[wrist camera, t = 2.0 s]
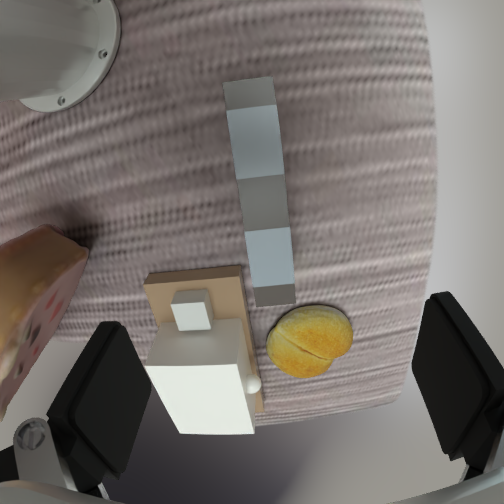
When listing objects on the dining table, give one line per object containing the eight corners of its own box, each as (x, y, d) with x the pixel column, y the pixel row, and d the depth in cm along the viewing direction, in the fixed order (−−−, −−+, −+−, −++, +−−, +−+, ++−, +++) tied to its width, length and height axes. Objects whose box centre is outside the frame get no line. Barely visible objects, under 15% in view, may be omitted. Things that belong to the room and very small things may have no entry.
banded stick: (231, 86, 23) (221, 82, 17) (270, 81, 22) (272, 76, 17) (257, 268, 30) (256, 307, 24) (290, 264, 29) (296, 303, 24)
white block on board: (149, 273, 30) (120, 325, 23) (249, 264, 30) (244, 319, 22) (196, 401, 39) (187, 451, 32) (270, 399, 38) (270, 451, 31)
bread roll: (363, 322, 33) (373, 347, 29) (310, 370, 36) (313, 396, 32) (305, 285, 31) (311, 311, 27) (252, 342, 34) (251, 369, 31)
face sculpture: (58, 341, 36) (1, 437, 21) (19, 310, 34) (-47, 397, 19) (113, 230, 28) (10, 348, 14) (60, 189, 27) (-64, 277, 12)
